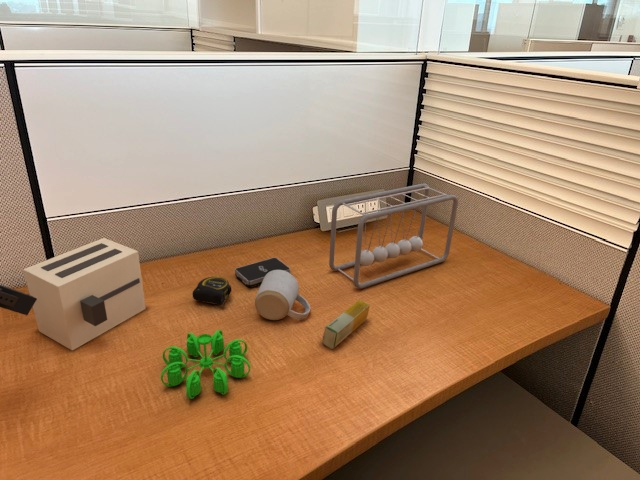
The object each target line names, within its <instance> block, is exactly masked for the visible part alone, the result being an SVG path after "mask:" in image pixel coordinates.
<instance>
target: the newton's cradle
mask: <svg viewBox="0 0 640 480" xmlns="http://www.w3.org/2000/svg"><path fill="white" fill-rule="evenodd" d="M420 191H424V194H422V193H419V192H420ZM430 191H432V192H435V193H438V194H440V195H436V196H431V197H430ZM410 193H414V194H413V195H414V196H416V194H418V195H421V196H423V198H422V199H416V198H413V197H411V196H409V195H406V194H410ZM400 195H401V196H406V197H408V198H411V199H412V200H414V201H410V202H404V198H402V200H400V199H397V198H395V197H397V196H400ZM388 198H391V199H394V200H396V201H399V202H401V203H399V204H396V205H392V204H389V203H387V202H385V201H384V200H382V199H388ZM372 201H373V202H374V201H377V207H376V206H375V205H372V204H370V203H369V202H372ZM448 201H452V208H451V213H450V219H449V224H448V230H447V237H446V242H445V248H444V253H443V255H442V256H441V257H438V256H436V255H434V254H433V253H431V252H428V251H427V250H425V249H423V246H424V241H423V239H424V231H425V226H426V220H427V219H426V218H427V211H428V207H429V206H433V205H435V204H440V203H444V202H448ZM380 202H382V203H384V204H386V205H388V206H386V207H382V208H380ZM359 204H364V212H362V211H360V210H359V209H356V208H354V207H353V206H355V205H359ZM366 204H368V205H369V206H371V207H374V208H376V209H373V210H369V211H367V207H366V206H367V205H366ZM458 205H459V199H458V197H457V196H456V195H454V194H450V195H449V194H447V193H444V192H442V191H439V190H437V189H434V188H432V187H430V186H429V185H428V184H427V183H419V184H414V185H409V186H405V187H399V188H394V189H389V190H384V191H379V192H375V193H370V194H369V193H368V194H364V195H359V196H355V197H349V198H345V199H344V198H343V199H341V200H340V199H339V200H338V201H336V203H334V205H333V206H332V208H331V223H330V224H331V226H330V239H329V240H330V241H329V257H328V258H329V260H328V266H329V269H330V270H332V271H334V272H338V271H339V272H340V273H342V275H345V276H346V277H347V278H348V279H350V280H351V281H352V282H353V286H354V287H355V288H356V289H359V290H361V289H365V288H368V287H371V286H375V285H377V284H380V283H383V282H386V281H390V280H392V279H395V278H399V277H401V276H404V275H407V274H410V273H413V272H416V271H420V270H423V269H425V268H428V267H432V266H435V265H438V264H440V263H443V262H445V261H446V260H447V259H448V258H449V255H450V251H451V245H452V239H453V234H454V229H455V222H456V217H457V210H458ZM341 206H345V207H346V208H348V209H350V210H352V211H354V212H356V213H357V214H360V215H361V216H362V217H361V218H360V219H359V221H358V224H357V234H356V244H355V258H354V260H353V261H349V262H346V263H342V264H339V265H335V251H336V237H337V236H336V234H337V220H338V219H337V217H338V210H339V208H340V207H341ZM418 208H422V210H421V215H420V216H421V217H420V223H419V230H418V233H417V235H416V233H414V236H412V237H410V238H409V239H408V236H409V232H410V229H411V226H412V222H413V220H414V217H415V214H416V209H418ZM410 210H414V211H413V213H412V216H411V217H412V218H411V220H410V224H409V228H408V231H407V234H406V237H405V213H404V212H406V211H410ZM397 213H401V217H400V220H399V223H398V228H397V230H396V235H395V238H394V242H389V243H387V244H386V245H385V246H383V244H384V242H385V238H386V234H387V230H388V226H389V223H390V225H391V226H390V227H391V228H390V231H391V232H390V233H391V236H390V237H393V215H394V214H397ZM385 216H388V222H387V225H386V229H385V233H384V236H383V239H382V243H381V233H380V229H381V228H380V226H378V239H379V240H378V243H379V245H378V246H375V247H374V248H373V250H372V251H371V250H370V246H371V243H372V239H373V236H374V232H375V229H376V225H377V221H378V219H379V218H380V217H385ZM372 219H375V223H374V227H373V230H372V234H371V237H370V241H369V245H368V247H367V249H364V250H362V247H363V234H364V233H365V238H364V239H365V244H367V221H368V220H372ZM401 222H402V228H403V229H402V231H403V233H402V234H403V237H402V239H401V240H400V239H399V240H398V242H397V243H396V239H397V236H398V232H399V229H400V225H401ZM364 229H365V231H364ZM407 239H408V240H407ZM419 251H422V252H424V253H426V254H428V255H429V256H430V257H433V258H435V259H432V260H430V261H427V262H423V263H419V264H416V265H413V266H411V267H408V268H405V269H401V270H398V271H395V272H392V273H388V274H386V275H383V276H380V277H376V278H374V279H370V280H367V281H365V282H361V283H360V281H359V280H360V268H361V266H363V267H369V266H371V265H372V264H374V261H375V262H378V263H383V262H385V261H387V259H396V258H397V257H398V256H399V255H402V256H406V255H408V254H410V252H419ZM352 267H354V270H353V277H351V275H348V274H347V273H346V272H345V271H343V270H345V269H348V268H352Z"/></svg>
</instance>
